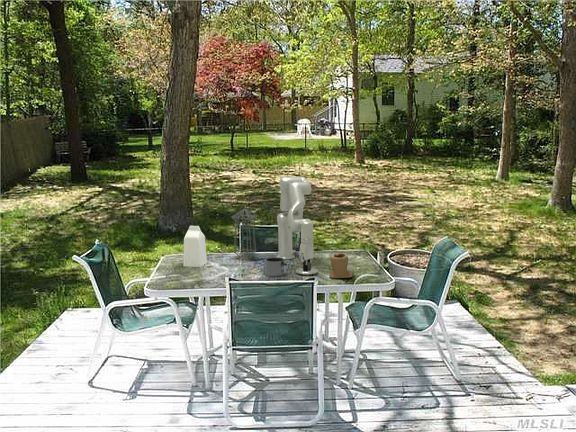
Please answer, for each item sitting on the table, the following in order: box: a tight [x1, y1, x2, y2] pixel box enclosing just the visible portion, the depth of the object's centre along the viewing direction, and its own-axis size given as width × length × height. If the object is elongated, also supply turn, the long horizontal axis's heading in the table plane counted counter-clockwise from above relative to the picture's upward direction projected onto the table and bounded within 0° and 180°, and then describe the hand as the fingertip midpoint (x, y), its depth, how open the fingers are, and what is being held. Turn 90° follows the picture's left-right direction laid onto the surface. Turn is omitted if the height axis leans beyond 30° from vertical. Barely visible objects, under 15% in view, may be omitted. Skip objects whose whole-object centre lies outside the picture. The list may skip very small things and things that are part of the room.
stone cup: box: [328, 252, 354, 279], centre depth 332 cm, size 15×12×15 cm
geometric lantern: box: [231, 208, 259, 261], centre depth 383 cm, size 16×16×35 cm
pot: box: [262, 256, 288, 277], centre depth 342 cm, size 12×17×9 cm
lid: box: [295, 262, 319, 276], centre depth 343 cm, size 14×14×7 cm
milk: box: [182, 225, 208, 268], centre depth 366 cm, size 12×12×26 cm
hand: (307, 269), depth 343 cm, fingers closed on lid, 3 cm apart
